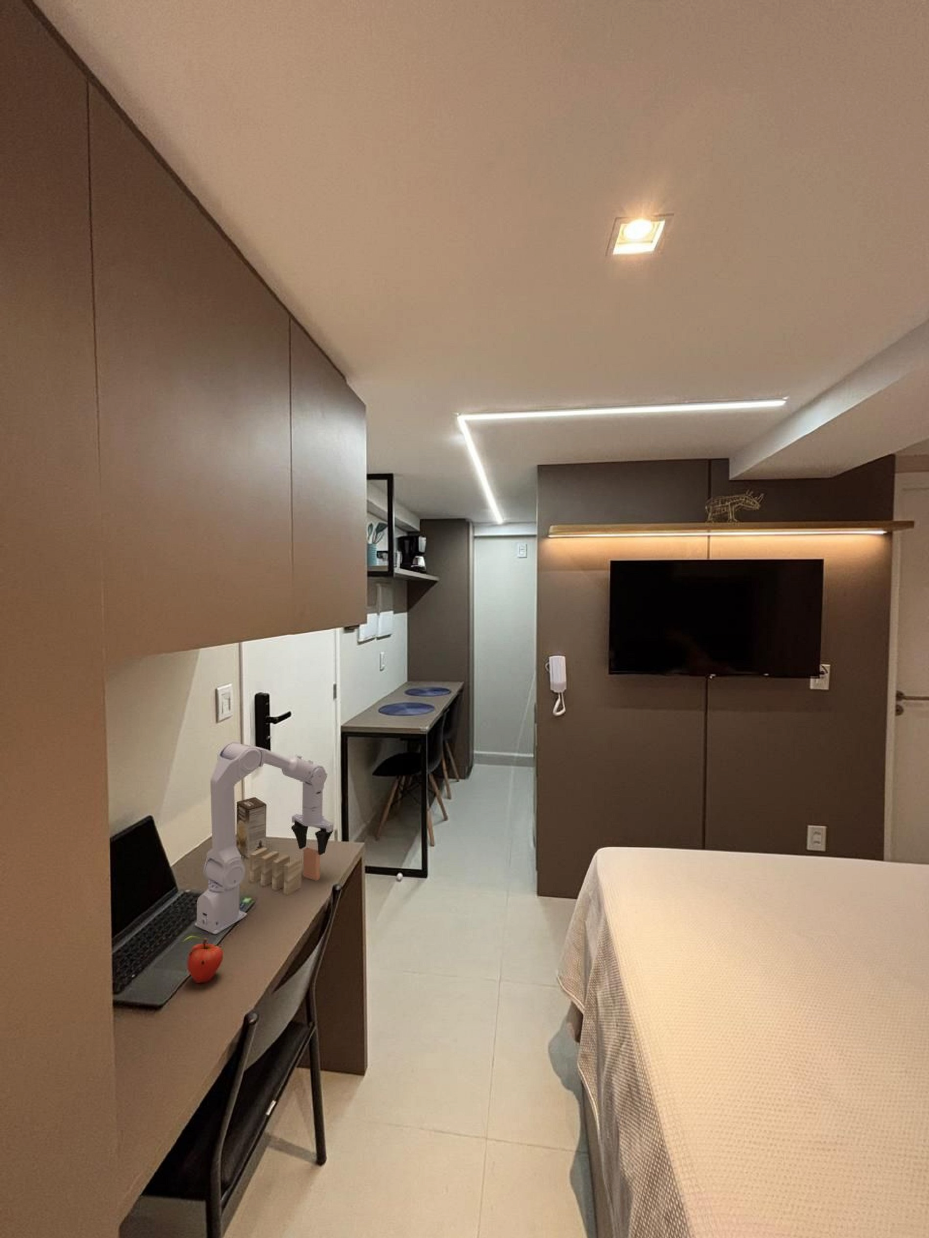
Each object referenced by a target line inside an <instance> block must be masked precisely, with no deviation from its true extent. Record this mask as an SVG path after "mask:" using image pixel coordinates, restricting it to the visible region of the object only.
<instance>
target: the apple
mask: <svg viewBox="0 0 929 1238" xmlns="http://www.w3.org/2000/svg"><path fill="white" fill-rule="evenodd" d="M192 938H195V939H198V940H199V941H201V942H202V943H198V944H195V945H193V947H191V950H190V951H189V954H188V958H187V964H186V965H187V971H188V972H189V974H190V976H191V977H192V979H193V981H194V982H195V983H197V984H201V983H207V982H210V980H211V979H212V978H213V976H215V973H216V972H217V971H218V969H219V968H220V967H221V965H222V961H223V957H224V955H223V954H224V953H223V950H222V948H221V946H218V945H217V944H212V943H208V942H207V941H208V938H205V937H204V938H203V939H202V938H201V937H199V936H196V935H189V936H187V937H186V938H185V939H184V940H183V942H185V941H187V940H188V939H189V940H190V939H192Z"/></svg>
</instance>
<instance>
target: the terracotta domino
mask: <svg viewBox="0 0 929 1238" xmlns="http://www.w3.org/2000/svg"><path fill="white" fill-rule="evenodd" d="M302 857H303V862H302V863H303V867H302V868H303V870H302V871H303V872H302V875H303V878H306V879H310V880H313V881H318V880H319V879H320V878H321V855H319V854H318V849H313V848H310V847H305V848H303V856H302Z"/></svg>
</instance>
